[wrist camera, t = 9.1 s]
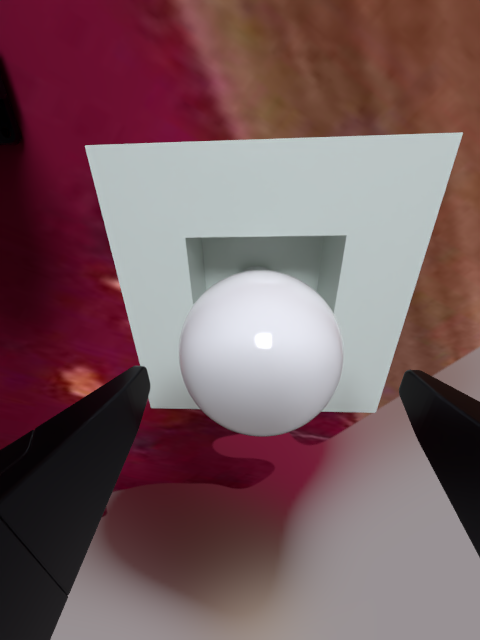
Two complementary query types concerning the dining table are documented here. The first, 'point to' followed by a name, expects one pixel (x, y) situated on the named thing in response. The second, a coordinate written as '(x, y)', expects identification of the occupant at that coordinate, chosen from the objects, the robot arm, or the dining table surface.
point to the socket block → (273, 237)
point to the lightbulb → (261, 352)
